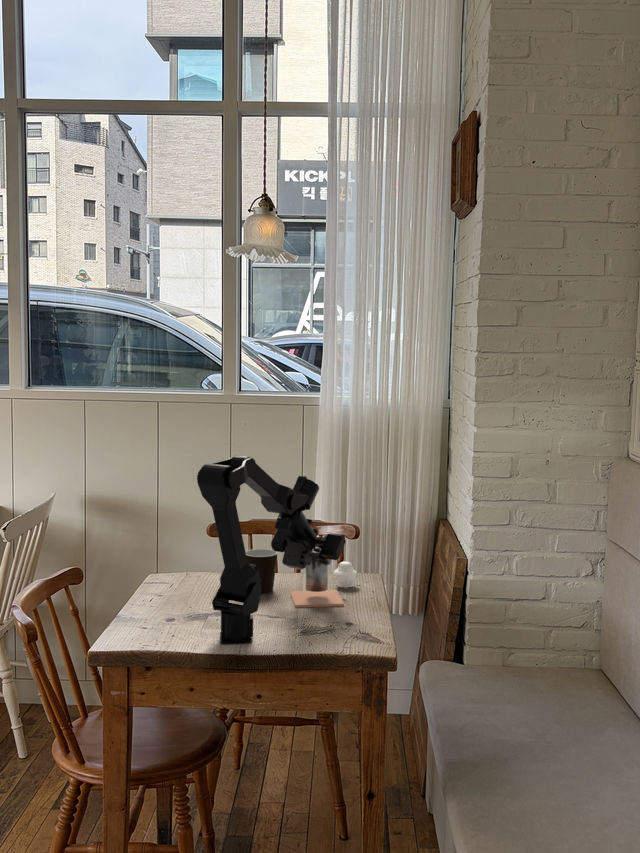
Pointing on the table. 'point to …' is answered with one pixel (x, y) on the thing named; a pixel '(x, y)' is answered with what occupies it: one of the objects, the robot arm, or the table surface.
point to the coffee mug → (264, 566)
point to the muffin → (345, 574)
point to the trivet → (316, 598)
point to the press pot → (317, 573)
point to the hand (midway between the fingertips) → (319, 561)
